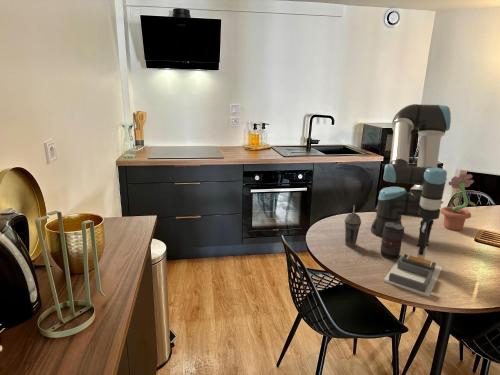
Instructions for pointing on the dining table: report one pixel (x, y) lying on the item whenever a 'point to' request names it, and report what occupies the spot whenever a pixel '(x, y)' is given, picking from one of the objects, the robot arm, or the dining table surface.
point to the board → (413, 275)
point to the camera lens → (392, 240)
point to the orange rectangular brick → (419, 260)
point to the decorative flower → (457, 215)
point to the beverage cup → (351, 228)
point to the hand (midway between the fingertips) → (420, 260)
